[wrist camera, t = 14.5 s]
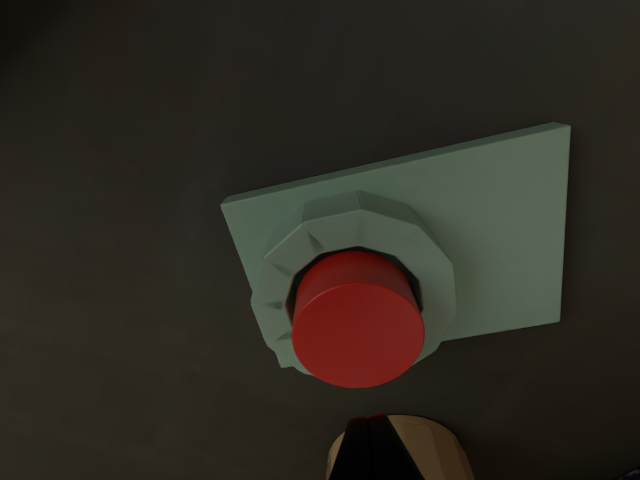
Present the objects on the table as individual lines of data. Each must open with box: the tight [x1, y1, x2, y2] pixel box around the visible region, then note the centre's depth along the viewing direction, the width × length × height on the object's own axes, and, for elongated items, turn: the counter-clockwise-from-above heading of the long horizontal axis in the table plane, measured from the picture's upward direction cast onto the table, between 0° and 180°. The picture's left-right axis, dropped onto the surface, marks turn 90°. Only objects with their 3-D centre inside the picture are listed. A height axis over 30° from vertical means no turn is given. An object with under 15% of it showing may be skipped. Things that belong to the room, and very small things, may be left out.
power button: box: [291, 251, 425, 388], centre depth 12 cm, size 4×4×2 cm
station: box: [221, 122, 571, 376], centre depth 13 cm, size 12×8×3 cm, turn 103°
